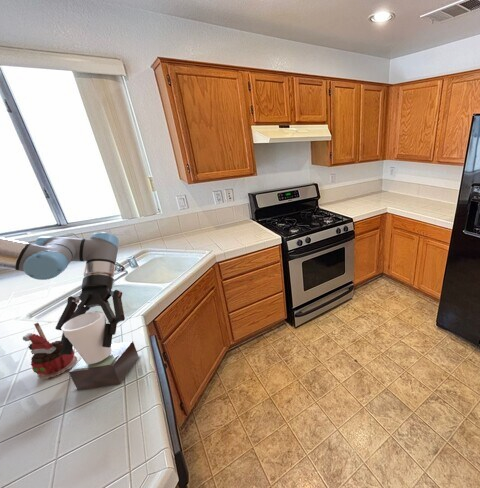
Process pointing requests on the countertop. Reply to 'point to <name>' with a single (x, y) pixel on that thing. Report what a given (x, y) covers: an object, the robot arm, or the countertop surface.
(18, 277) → the countertop surface
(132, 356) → the box
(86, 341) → the foam cup
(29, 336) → the cake
